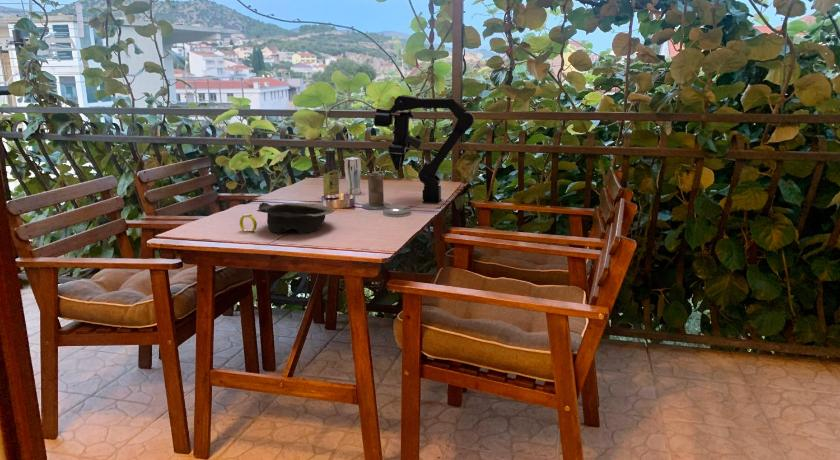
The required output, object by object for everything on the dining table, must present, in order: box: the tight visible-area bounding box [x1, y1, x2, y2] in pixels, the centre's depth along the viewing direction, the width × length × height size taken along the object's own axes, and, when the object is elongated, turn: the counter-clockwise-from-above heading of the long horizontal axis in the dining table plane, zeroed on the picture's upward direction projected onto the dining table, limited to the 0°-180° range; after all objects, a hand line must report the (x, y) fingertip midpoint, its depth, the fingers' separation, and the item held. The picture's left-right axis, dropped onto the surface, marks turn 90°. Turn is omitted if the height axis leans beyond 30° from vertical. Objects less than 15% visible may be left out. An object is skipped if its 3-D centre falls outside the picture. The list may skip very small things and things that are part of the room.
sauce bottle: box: [322, 149, 340, 197], centre depth 244 cm, size 7×6×20 cm
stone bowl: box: [256, 201, 335, 234], centre depth 200 cm, size 25×25×9 cm
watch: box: [239, 213, 258, 232], centre depth 198 cm, size 6×3×6 cm, turn 67°
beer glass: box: [344, 156, 362, 196], centre depth 253 cm, size 7×7×15 cm
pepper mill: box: [367, 170, 385, 207], centre depth 229 cm, size 5×5×13 cm
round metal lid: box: [382, 204, 411, 218], centre depth 219 cm, size 10×10×2 cm
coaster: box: [361, 202, 391, 211], centre depth 231 cm, size 11×11×1 cm
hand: (399, 168), depth 236 cm, fingers open, 9 cm apart
